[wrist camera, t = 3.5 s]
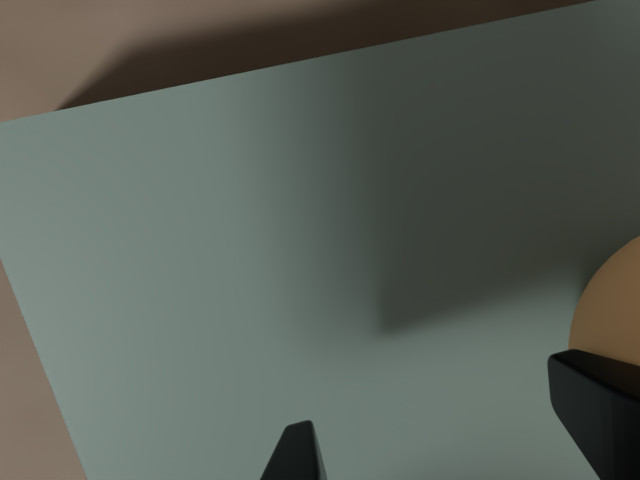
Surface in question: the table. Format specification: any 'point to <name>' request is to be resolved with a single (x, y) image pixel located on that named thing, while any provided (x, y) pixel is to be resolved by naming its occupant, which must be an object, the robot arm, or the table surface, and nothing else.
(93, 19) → the table surface
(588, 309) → the ball
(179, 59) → the table surface
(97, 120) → the deck
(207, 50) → the table surface
